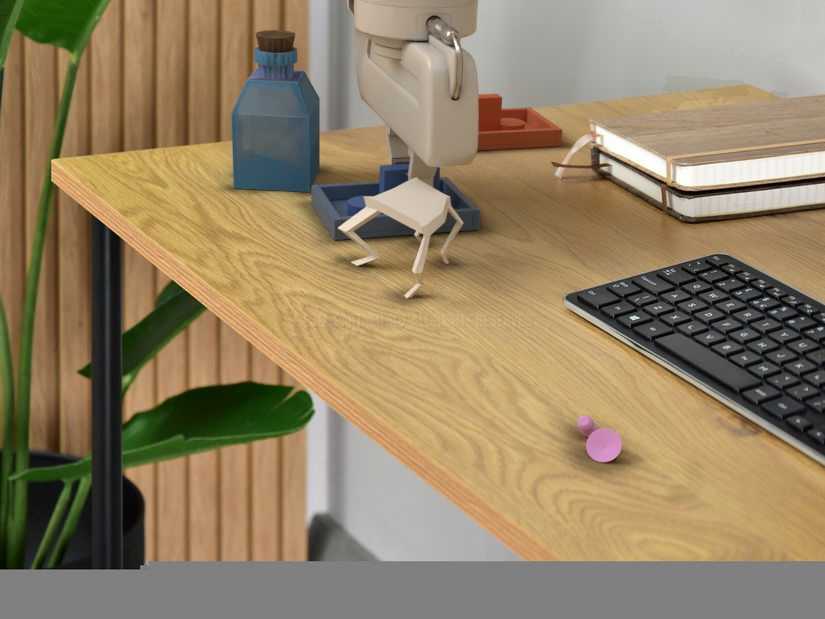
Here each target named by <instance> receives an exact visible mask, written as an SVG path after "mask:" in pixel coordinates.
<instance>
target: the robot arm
mask: <svg viewBox="0 0 825 619" xmlns="http://www.w3.org/2000/svg"><path fill="white" fill-rule="evenodd" d="M346 2H347V4H346V5H347V9H348V11H349V12H350V14H352V15H353V16H354V21H353V38H354V39H353V40H354V57H355V76H356V83H357V87H358V93H359V96H360V99H361V100H362V101H363V102H364V103H365V104H366V105H367V106H368V107H369V108H370V109H371V110H372V111H373V112H374V113H375V114H376V115H377V116H378V117H379V119H381V120H382V121H383V122H384V123H385V124H384V132H385V139H386V144H387V150H388V155H389V165H395V164H409V171H408V173H405V182H407V181H409V180H411V179H413V178H416V177H417V178H418V179H419V180H421V181H422V182H424V183H426V184H428V185H429V186H431V187H433V177H434V176H435V173H436V170H437V168H438V167H440V168H441V167H457V166H467V165H470V164H472V163H473V161H474V160H475V158H476V155H477V152H478V150H477V149H478V119H479V109H478V94H479V77H478V68H477V64H476V61H475V59H474V57H473V55H472V54H471V53H470V52H469V51H467V49H465V48H463V47H462V45H461V39H463V38H467V37H470V36H472V35H474V34H475V33H476V32H477V27H478V26H477V25H478V10H479V0H346Z"/></svg>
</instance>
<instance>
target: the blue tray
mask: <svg viewBox="0 0 825 619" xmlns="http://www.w3.org/2000/svg"><path fill="white" fill-rule="evenodd" d="M379 182H380V180H374V181H359V182H358V181H357V182H339V183H325V184H323V183H322V184H313V185H312V186H311V190H310V193H311V194H310V195H311V198H310V199H311V201H310V204H311V206H312V208H313V209H314V211H315V212H316V214H317V216H318V217H319V218H320V220H321V221H322V223H323V225H324V226H325V228H326V229H327V231H328V232H329V234H330V235H331V237H332V239H333V240H334V241H343V240H352V239H351V238H349V237H348V236H347V235H346V234H344V233H343V232H342V231H341V230H339V229H338V227H339V226H341V225H342V224H343V223H345V222H346V221H347V220H349V219H350V218H351V217H353V216H349V215H348V213H347V210H348V200H349V199H350V198H353V197H357V196H376V195H379ZM439 191H440V192H441V193H443V194H445V195H447V196H450V201H451V206H452V208H453V209H454V210H455V212H456V213H457V214H458V216H459V217H460V218H461V220H462V221H463V223H464V224H463V225H462V227H461V228H460V230H459V231H458V232H467V231H479V230H480V224H481V223H480V222H481V209H480V208H479V207H478V206H477V205H476V204H475V203H474V202H473V201H472V200H471V199H470V198H469V197H468V196H467V195H466V194H465V192H464V193H463V191H462V189H460V188H459V187H458V186H457V185H456V184H455V183H454V182H453V181H451V179H450V178H449V177H447V176H444V177H441V176H440V181H439ZM456 222H457V221H456V220H455V219H454V217H453V216H452V215H451V214H450V213H449V212H448V211H447V216H446V220H445V223H443V224H442V225H441V226H440V227H439V228H438V229H437V230H436V231H435V232H434V233H433V234H440V233H451V231H452V229H453V227H454V225H455V223H456ZM354 232H355V233H356V234H357V235H358V236H359V237H360V238H361V239H371V238H385V237H397V236H399V237H400V236H414V234H415V232H416V230H414V229H412V228H410V227H408V226H407V225H405V224H403V223H401V222H399V221H397V220H395V219H393V218H391V217H389V216H388V215H386V214H379V215H377V216H376V217H374V218H373V219H371V220H370V221H368V222H367V223H365V224H363V225H362V226H360V227H359V228H357V229H356V230H354ZM420 235H423V234H422V233H421V234H420Z"/></svg>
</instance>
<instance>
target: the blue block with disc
mask: <svg viewBox="0 0 825 619" xmlns="http://www.w3.org/2000/svg"><path fill="white" fill-rule="evenodd" d="M408 171H409V164H395V165H390V164H380V165H379V181H380V182H379V194H381V193H383V192H386V191H388V190H391V189H393V188H395V187H397V186H399V185H401V184H403V183H405V173H408ZM440 178H441V166H440V167H438V168H437V170H436V173H435V176H434V177H433V188H435V189H436V190H438V191H439V181H440ZM364 197H371V196H357V197H353V198H350V199H349V200H348V210H347V213H348V215H349V216H354V215H356V214H357V213H358V212H360V211H361V210H362V209H364V208H365V207H366V204H365V200H364ZM381 214H384V213H381Z"/></svg>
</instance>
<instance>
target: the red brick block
mask: <svg viewBox="0 0 825 619" xmlns="http://www.w3.org/2000/svg"><path fill="white" fill-rule="evenodd" d="M478 109H479V119H478V132H486V131H506V130H525V122H524V121H522V120H519V119H514V118H502V119H501V110H502V109H503V96H501V95H500V94H498V93H478Z"/></svg>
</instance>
